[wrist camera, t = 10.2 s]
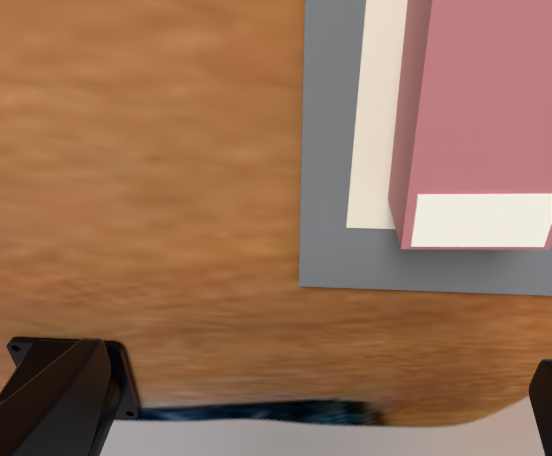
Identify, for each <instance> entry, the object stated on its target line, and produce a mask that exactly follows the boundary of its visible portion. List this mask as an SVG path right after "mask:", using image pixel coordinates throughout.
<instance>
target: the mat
mask: <svg viewBox="0 0 552 456" xmlns="http://www.w3.org/2000/svg"><path fill="white" fill-rule="evenodd" d="M407 2H408V0H305V29H304V74H303V119H302V163H301V208H300V253H299V286H304V287H331V288H358V289H385V290H412V291H439V292H466V293H492V294H519V295H546V296H552V245H551V248H550V250H484V249H401V248H400V244H399V240H398V236H397V232H396V228H395V225H394V221H393V217H392V213H391V209H390V206H389V202H388V192H389V182H390V172H391V162H392V152H393V142H394V132H395V122H396V112H397V102H398V92H399V82H400V72H401V62H402V52H403V42H404V32H405V22H406V12H407Z"/></svg>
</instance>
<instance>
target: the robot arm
mask: <svg viewBox="0 0 552 456" xmlns="http://www.w3.org/2000/svg"><path fill="white" fill-rule="evenodd" d="M7 348H8V350H9V353H10V355H11V357H12V359H13V361H14V363H15V365H16V367H17V368H16V370H15V371H14V373H13V374H12V376H11V377H10V379H9V380H8V382H7V383H6V385H5V386H4V388H3V389H2V391H1V392H0V456H99V455H100V453H101V450H102V448H103V445H104V443H105V440H106V438H107V435H108V433H109V430H110V427H111V425H112V423H113V420H114V418H126V419H134V418H137V417H138V414H139V411H140V407H139V404H138V400H137V397H136V393H135V389H134V386H133V382H132V379H131V375H130V371H129V368H128V364H127V361H126V357H125V353H124V350H123V347H122V345H120V344H119V343H117V342H114V341H103V340H102V339H94V338H84V339H81V340H73V339H51V338H30V337H13V338H12V339H11V340H10V342H9V343H8V345H7ZM529 397H530V401H531V405H532V408H533V412H534V415H535V419H536V423H537V426H538V430H539V434H540V438H541V441H542V445H543V449H544V452H545V456H552V359H543V360H542V361H541V362H540V363H539V365H538V367H537V369H536V372H535V374H534V376H533V378H532V380H531V383H530V385H529Z"/></svg>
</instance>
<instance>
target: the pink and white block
mask: <svg viewBox="0 0 552 456" xmlns="http://www.w3.org/2000/svg"><path fill="white" fill-rule="evenodd" d="M388 202H389V206H390V209H391V213H392V217H393V221H394V225H395V228H396V232H397V236H398V240H399V244H400V248H401V249H484V250H550V248H551V245H552V0H408V2H407V12H406V22H405V32H404V42H403V52H402V62H401V72H400V82H399V92H398V102H397V112H396V122H395V132H394V142H393V152H392V162H391V172H390V182H389V192H388Z"/></svg>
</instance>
